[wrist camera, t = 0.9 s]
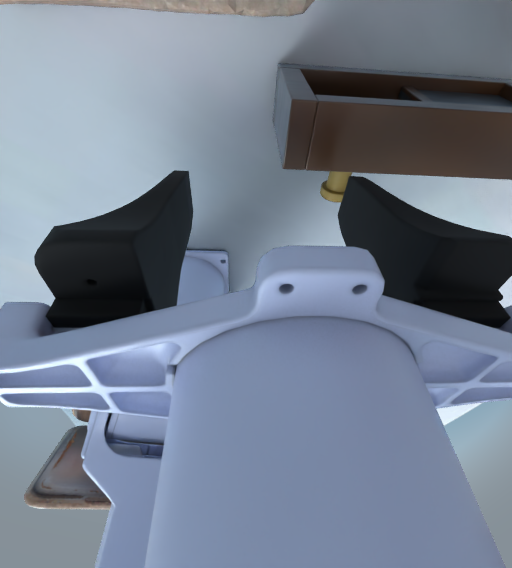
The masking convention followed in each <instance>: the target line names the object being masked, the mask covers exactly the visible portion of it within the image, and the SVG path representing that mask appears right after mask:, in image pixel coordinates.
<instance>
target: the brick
mask: <svg viewBox="0 0 512 568" xmlns="http://www.w3.org/2000/svg"><path fill="white" fill-rule="evenodd" d="M313 2H314V0H0V5H1V4H60V5H85V6H100V7H120V8H133V9H142V10H154V11H170V12H178V13H202V14H233V15H244V16H259V17H268V16H291V15H296V14H303V13H304V12H305V11H306V10H307V8H308V7H309V6H310V5H311V4H312V3H313Z"/></svg>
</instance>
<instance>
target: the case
mask: <svg viewBox="0 0 512 568" xmlns="http://www.w3.org/2000/svg"><path fill="white" fill-rule="evenodd" d="M72 411H73V415H74V416H75V417H76V418H77V419H79V420H81V421H84V422H89V418H90V414H91V411H90V410H79V409H72ZM107 425H108V422H107ZM87 432H88V430H87V426H77V427H74V428H71V429H70V430H68V431H67V432H66V433H65V435H64V436H63V438H62V439H61V441H60V442H59V443H58V445H57V446H56V448H55V450H54V451H53V453H52V454H51V455H50V456H49V458H48V459H47V461H46V462H45V464H44V465H43V467H42V468H41V470H40V471H39V473H38V474H37V476H36V477H35V479H34V480H33V481H32V483H31V484H30V486H29V487H28V489H27V491H26V493H25V495H24V500H25V502H26V504H28V505H29V506H31V507H35V508H44V509H110V508H111V504H112V502H111V501H110V499H109V498H108V497H107V496H106V495H105V494H104V493H103V491H102V490H101V489H100V488H99V487H98V486H97V485H96V484H95V482H94V481H93V480H92V479H91V478H90V477H89V476H88V474H87V473H86V472H85V470H84V469H83V467H82V465H83V461H84V459H83V458H82V457H81V452H82V448H83V445H84V442H85V439H86V435H87ZM120 441H123V442H131V443H142V444H153V445H164V444H161V443H150V442H139V441H128V440H120Z"/></svg>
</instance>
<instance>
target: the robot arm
mask: <svg viewBox="0 0 512 568" xmlns="http://www.w3.org/2000/svg"><path fill="white" fill-rule="evenodd" d="M192 219H193V205H192V197H191V188H190V179H189V171H173V172H172V173H170V174H169V175H168V176H167V177H166V178H164V179H163V180H162V181H161V182H160V183H158V184H157V185H156V186H155V187H153V188H152V189H151V190H149V191H148V192H146V193H145V194H144V195H142V196H141V197H139V198H138V199H136V200H134V201H133V202H131V203H129V204H127V205H125V206H123V207H121V208H118V209H116V210H114V211H111V212H109V213H106V214H104V215H101V216H98V217H95V218H91V219H88V220H84V221H80V222H75V223H70V224H65V225H60V226H54V228H53V229H52V230H51V232H50V233H49V234H48V236H47V237H46V238H45V240H44V241H43V243H42V244H41V245H40V247H39V248H38V250H37V252H36V254H35V256H34V258H35V266H36V268H37V270H38V272H39V274H40V275H41V277H42V278H43V280H44V281H45V283H46V284H47V286H48V287H49V289H50V290H51V292H52V293H53V295H54V296H55V300H54V302H53V304H52V306H51V307H50V306H49V305H47V304H44V303H39V302H6V303H5V304H4V305H3V306H2V308H1V309H0V402H2V403H3V404H5V405H6V406H8V407H48V408H67V409H79V410H90V411H91V414H90V418H89V422H88V426H87V430H88V432H87V435H86V439H85V442H84V445H83V448H82V452H81V457H82V458H83V459H84V461H83V465H82V467H83V469H84V470H85V472H86V473H87V474H88V476H89V477H90V478H91V479H92V480H93V481H94V482H95V484H96V485H97V486H98V487H99V488H100V489H101V490H102V491H103V493H104V494H105V495H106V496H107V497H108V498H109V499H110V501H111V502H112V504H111V508H110V511H109V515H108V519H107V522H106V527H105V530H104V534H103V537H102V541H101V545H100V549H99V553H98V556H97V560H96V563H95V567H94V568H506V567H505V564H504V562H503V560H502V558H501V555H500V553H499V551H498V549H497V546H496V544H495V542H494V539H493V537H492V535H491V533H490V530H489V528H488V526H487V523H486V521H485V519H484V517H483V514H482V512H481V510H480V507H479V505H478V503H477V501H476V498H475V496H474V494H473V492H472V489H471V487H470V485H469V482H468V480H467V478H466V476H465V473H464V471H463V469H462V467H461V464H460V462H459V460H458V457H457V455H456V453H455V451H454V449H453V446H452V444H451V442H450V439H449V437H448V435H447V433H446V431H445V428H444V426H443V423H442V421H441V419H440V417H439V414H438V412H437V410H436V409H437V408H444V407H451V406H458V405H465V404H473V403H482V402H490V401H502V400H512V306H508V307H506V308H503V307H502V305H501V304H500V303H499V301H501V300H502V299H503V295H502V294H501V293H500V292H499V290H498V289H499V288H500V287H501V286H502V285H503V284H504V283H505V282H506V281H507V280H508V279H509V278H510V277H511V276H512V238H511V237H509V236H506V235H501V234H496V233H490V232H485V231H480V230H476V229H472V228H469V227H465V226H461V225H458V224H454V223H451V222H448V221H446V220H443V219H440V218H437V217H435V216H432V215H430V214H428V213H425V212H423V211H421V210H419V209H417V208H415V207H413V206H411V205H409V204H407V203H405V202H404V201H402V200H400V199H399V198H397V197H395V196H394V195H392V194H390V193H389V192H387V191H386V190H384V189H383V188H381V187H380V186H378V185H376V184H375V183H373V182H372V181H370V180H368V179H366V178H364V177H355V176H349V178H348V182H347V185H346V189H345V192H344V195H343V199H342V202H341V206H340V209H339V212H338V219H339V225H340V229H341V233H342V236H343V239H344V241H345V244H346V247H343V246H284V247H278V248H273V249H272V250H270V251H269V252H267V253H266V254H265V255H263V256H262V257H261V259H260V261H259V264H258V266H257V271H256V280H255V284H254V285H253V287H251V288H249V289H245V290H241V291H237V292H233V293H229V278H228V253H227V252H225V251H198V250H186V248H187V244H188V241H189V237H190V233H191V228H192ZM222 260H225V261H222ZM107 422H108V425H107ZM120 440H128V441H139V442H150V443H161V444H164V445H153V444H142V443H131V442H123V441H120Z"/></svg>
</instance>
